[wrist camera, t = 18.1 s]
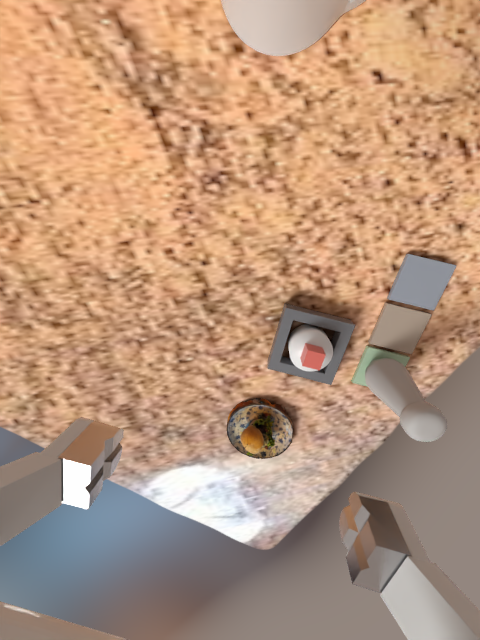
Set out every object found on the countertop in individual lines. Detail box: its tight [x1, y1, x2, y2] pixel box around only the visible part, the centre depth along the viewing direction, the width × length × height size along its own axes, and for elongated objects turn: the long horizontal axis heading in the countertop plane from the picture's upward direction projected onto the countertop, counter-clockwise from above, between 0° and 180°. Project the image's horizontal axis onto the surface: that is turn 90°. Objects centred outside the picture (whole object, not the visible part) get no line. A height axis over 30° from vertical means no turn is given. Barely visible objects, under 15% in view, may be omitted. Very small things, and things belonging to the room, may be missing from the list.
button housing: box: [268, 304, 355, 385], centre depth 39 cm, size 10×10×2 cm
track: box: [351, 254, 456, 387], centre depth 38 cm, size 20×6×1 cm, turn 167°
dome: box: [288, 324, 333, 372], centre depth 37 cm, size 6×6×6 cm
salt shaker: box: [365, 358, 447, 442], centre depth 33 cm, size 6×6×13 cm
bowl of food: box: [227, 398, 293, 459], centre depth 43 cm, size 12×12×8 cm
